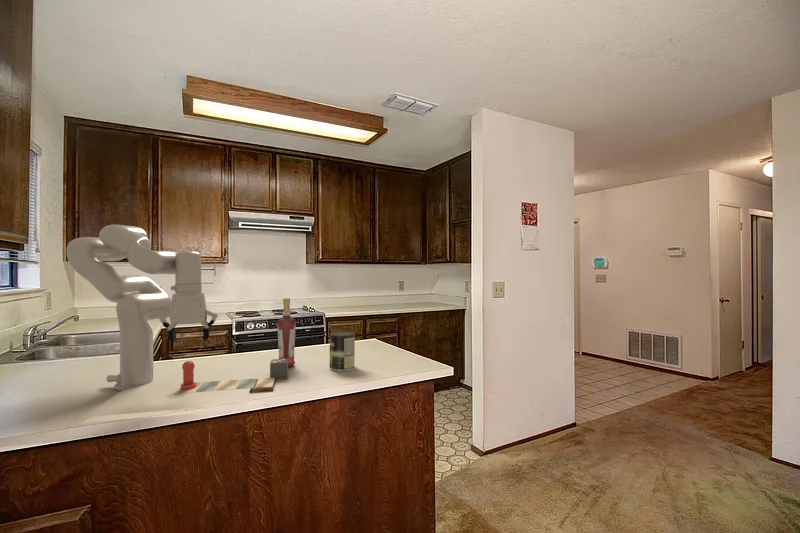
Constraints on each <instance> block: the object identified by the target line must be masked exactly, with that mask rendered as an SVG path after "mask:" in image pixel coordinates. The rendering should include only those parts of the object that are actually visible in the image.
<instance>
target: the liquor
mask: <svg viewBox="0 0 800 533" xmlns="http://www.w3.org/2000/svg"><path fill="white" fill-rule="evenodd" d="M282 301H283V302H282V303H283V310H282V317H281V318H279V319H278V320H277V342H278V344H277V345H278V359H288V369H289V368H292V367H293V366H294V365H295V364H296V361H295V342H296V324H297V322H296V321H297V320H296V319H295V318H293V317H291V309H290V307H291V306H290V305H291V304H290V303H291V298H290V297H287V298H285V297H284V298H282Z"/></svg>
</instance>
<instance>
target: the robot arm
mask: <svg viewBox="0 0 800 533" xmlns="http://www.w3.org/2000/svg"><path fill="white" fill-rule="evenodd" d="M151 249H152V243H151V240H150V239H149V238H148V234H147V232H146V231H145V230H144V229H143V228H141V227H139V226H134V225H133V226H132V225H124V224H109V225H106V226H104V227H102V228H101V229H100V231H99V234H98V237H95V236H86V237H85V236H83V237H77V238H74V239H72V240H71V241H70V242H68V244H67V246H66V251H65V252H66V257H67V261H68V263H69V265H70V267H72V269H73V270H74V271H75V272H76V273H77V274H78V275H79V276H81V277H82V278H83V279H85V280H86V281H87V282H89V283H90V284H91V285H92V286H93V287H94V289H96V290H97V291H98V292H99V293H100V294H101V295H102V296H103V297H104V298H105V299H106V300H108V301H109V302H111V303H116V305H115V312H116V317H117V320H118V321H117V322H118V328H119V373H118V374H108V375H107V376H106V382H107V383H112V382H115V384H114V385H113V386H114V390H115V391H119V392H122V391H124V390H125V389H126V388H128V387H137V386H144V385H147V384H149V383H152V382H153V381H154V332H153V329H152V327H151V324H149V322H148V321H151V320H158V319H159V321H160V323H161V324H162V326H163V327H164V328H165V329H166V330H167V331H168V340H169V341H170V344H173V343H175V342H176V341H177V330H176V326H178V325H179V326H181V325H198V324H200V325H202V327H203V329H202V338H203V339H202V341H204V342H206V341H208V339H209V338H210V327H212V326H213V325H214V323H215V322H216V320H217V319H218V317H219V314H217V313H216V312H213V311H212V310H209V309H207V304H206V296H205V293H204V292H203V290H202V283H203V282H202V255H201V253H200V252H198V251H167V250H166V251H165V250H162V251H161V250H151ZM125 258H127V261H128V263H129V264H130V265H131V266H132V267H133V268H136V269H137V270H139V271H140V272H143V273H145V274H149V275H174V276H175V284H174V285H171V286H170V291H174V293H172V295H171V297H170V296H169V294H167V293H166V291H164V290H163V289H162V288H161V287H160V286H159V285H158V284H157V283H156V282H155V281H153V280H152V279H151V278H149V277H148V276H144V275H124V274H122V273H121V272H119V271H118V270H117V269H116V268H115V267H113V266H112V265H111V264H108V263H106V262H116V261H121V260H123V259H125ZM208 316H210V317H211V319H210V321H209V322H208V321H207V319H208ZM167 318H169V322H168V321H167Z"/></svg>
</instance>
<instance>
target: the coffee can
mask: <svg viewBox="0 0 800 533" xmlns="http://www.w3.org/2000/svg"><path fill="white" fill-rule="evenodd" d="M328 336H329V370H330V371H333V372H349V371H352V369H353V370H354V369H355V361H356V360H355V356H356V355H355V345H356V343H355V339H356V337H355V336H356V333H355V332H354V331H349V330H347V331H345V330H342V331H341V330H340V331H339V330H338V331H333V332H331V333H329V335H328ZM348 370H349V371H348Z"/></svg>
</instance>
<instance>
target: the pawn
mask: <svg viewBox="0 0 800 533" xmlns="http://www.w3.org/2000/svg"><path fill="white" fill-rule="evenodd" d="M195 366H196V365H195V363H194V361H192V360H186V361H184V362H183V363H182V365H181V368H182V373H183V375H182V376H183V377H182V379H183V380H182V381H183V382H182V383H181V384H180V387H181V389H182V390H188V389H193V388H195V387H196V382H197V381H195V380H194V379H195V375H194V374H195V373H194V372H195V371H194V370H195Z"/></svg>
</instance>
